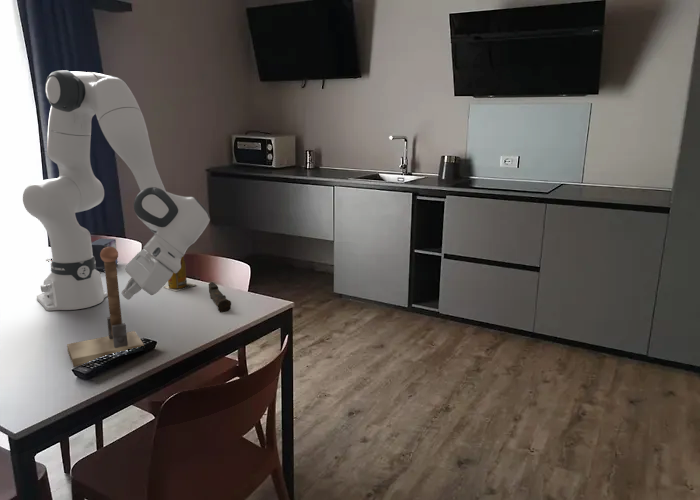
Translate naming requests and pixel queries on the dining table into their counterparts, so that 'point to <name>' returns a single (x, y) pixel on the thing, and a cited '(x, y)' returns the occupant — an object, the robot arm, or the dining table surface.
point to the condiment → (179, 279)
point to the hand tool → (219, 298)
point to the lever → (112, 284)
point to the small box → (97, 249)
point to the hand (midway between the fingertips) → (124, 296)
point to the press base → (104, 344)
